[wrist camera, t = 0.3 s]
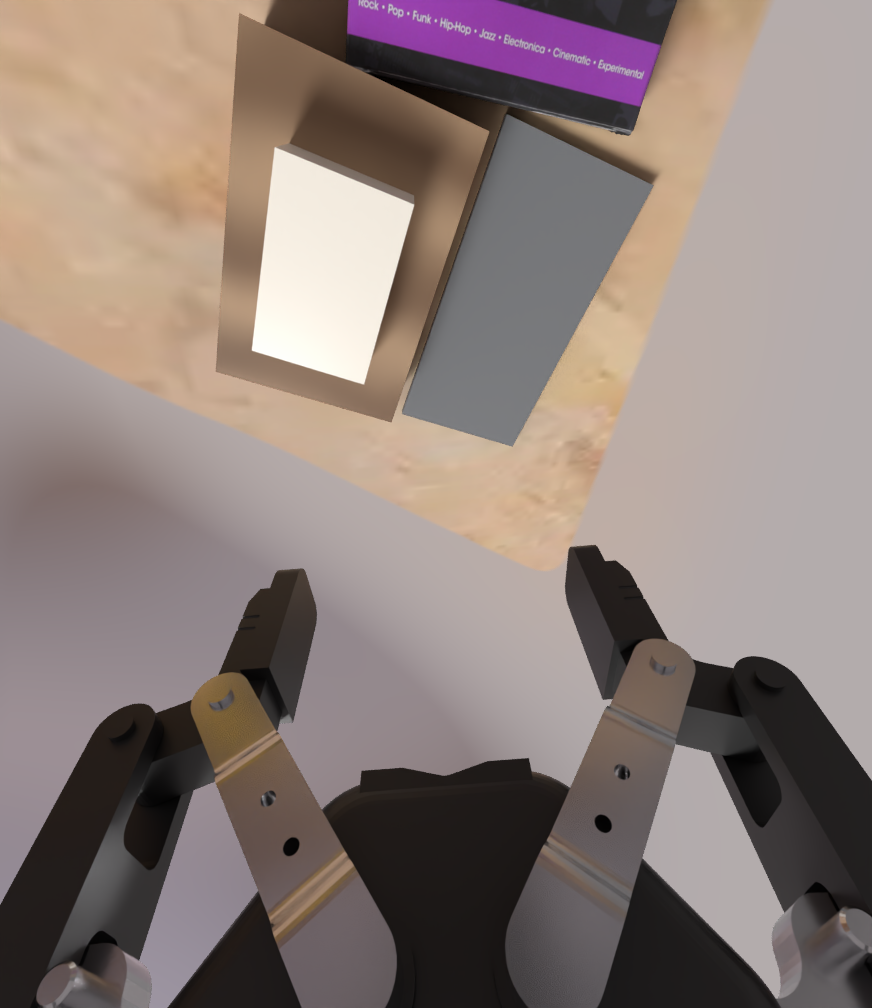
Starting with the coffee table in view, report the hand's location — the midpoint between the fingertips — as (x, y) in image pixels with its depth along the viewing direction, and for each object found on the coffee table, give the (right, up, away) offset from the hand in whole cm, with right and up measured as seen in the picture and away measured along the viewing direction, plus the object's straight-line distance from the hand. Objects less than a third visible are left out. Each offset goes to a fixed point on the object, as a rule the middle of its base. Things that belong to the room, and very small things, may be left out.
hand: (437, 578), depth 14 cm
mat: (+5, +15, +16) cm, 23 cm away
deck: (-6, +17, +14) cm, 23 cm away
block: (-5, +15, +11) cm, 19 cm away
